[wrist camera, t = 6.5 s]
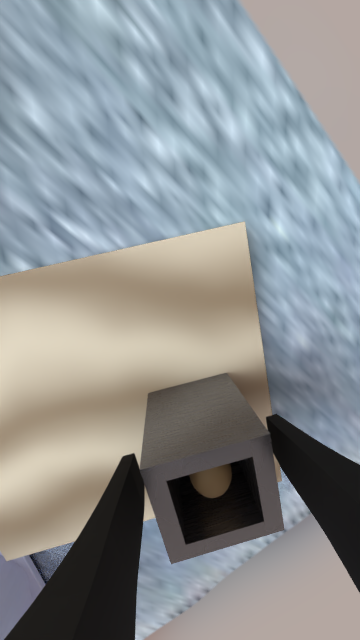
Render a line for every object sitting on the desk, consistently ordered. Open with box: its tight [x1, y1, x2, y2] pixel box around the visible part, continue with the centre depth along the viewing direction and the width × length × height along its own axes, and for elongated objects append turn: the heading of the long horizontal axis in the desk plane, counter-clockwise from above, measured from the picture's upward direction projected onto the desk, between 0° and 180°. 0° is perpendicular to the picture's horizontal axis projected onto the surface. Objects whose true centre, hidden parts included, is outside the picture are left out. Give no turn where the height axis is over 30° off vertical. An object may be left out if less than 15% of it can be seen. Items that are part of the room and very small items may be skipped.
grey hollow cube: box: [140, 373, 284, 564], centre depth 10 cm, size 5×5×5 cm
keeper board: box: [0, 222, 282, 561], centre depth 11 cm, size 18×20×6 cm
